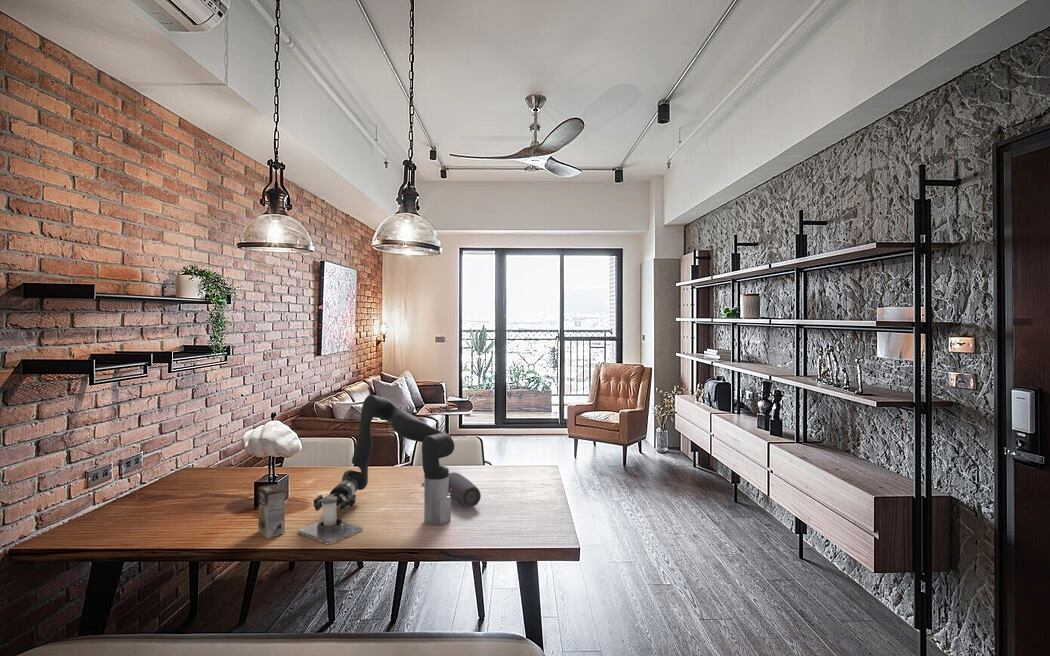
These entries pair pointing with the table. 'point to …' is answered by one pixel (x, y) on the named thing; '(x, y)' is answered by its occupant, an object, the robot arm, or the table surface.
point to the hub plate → (329, 536)
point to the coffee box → (271, 510)
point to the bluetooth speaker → (463, 490)
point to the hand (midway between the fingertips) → (328, 508)
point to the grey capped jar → (329, 511)
